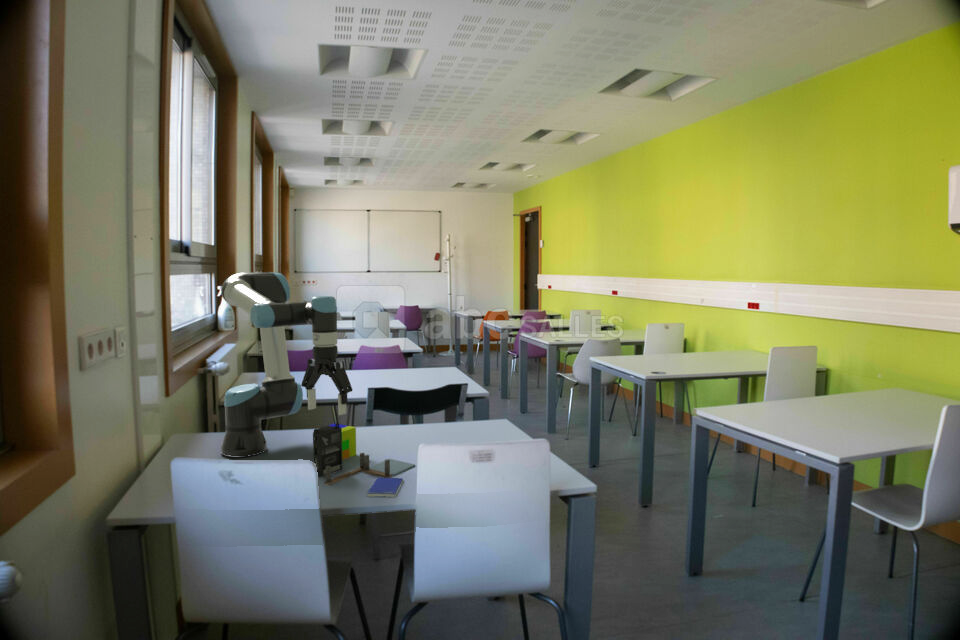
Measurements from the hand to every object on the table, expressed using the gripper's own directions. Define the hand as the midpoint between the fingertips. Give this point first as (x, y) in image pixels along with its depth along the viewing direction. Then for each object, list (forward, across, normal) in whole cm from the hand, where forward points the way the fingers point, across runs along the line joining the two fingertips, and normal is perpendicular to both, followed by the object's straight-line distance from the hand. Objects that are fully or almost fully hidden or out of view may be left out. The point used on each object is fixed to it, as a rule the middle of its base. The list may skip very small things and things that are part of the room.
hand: (327, 411), depth 184 cm
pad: (+20, +15, +14) cm, 28 cm away
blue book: (+21, +25, -1) cm, 32 cm away
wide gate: (+20, +8, 0) cm, 21 cm away
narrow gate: (+20, +15, +7) cm, 26 cm away
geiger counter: (+20, 0, 0) cm, 20 cm away
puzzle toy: (+20, -9, +12) cm, 25 cm away
